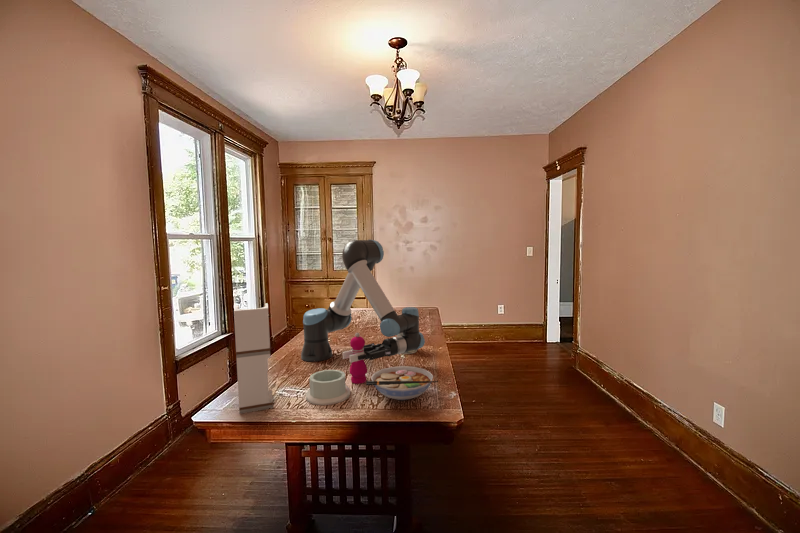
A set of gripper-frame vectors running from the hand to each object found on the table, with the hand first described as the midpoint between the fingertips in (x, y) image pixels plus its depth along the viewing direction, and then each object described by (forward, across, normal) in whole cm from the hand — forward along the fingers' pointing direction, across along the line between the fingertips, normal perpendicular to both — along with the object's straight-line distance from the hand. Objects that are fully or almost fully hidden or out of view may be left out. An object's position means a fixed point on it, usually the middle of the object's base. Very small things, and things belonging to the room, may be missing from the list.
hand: (346, 357), depth 145 cm
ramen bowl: (-10, -23, -11) cm, 28 cm away
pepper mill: (-5, 0, -11) cm, 12 cm away
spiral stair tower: (+34, +5, -11) cm, 36 cm away
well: (+11, -5, -11) cm, 16 cm away
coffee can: (-45, +19, -11) cm, 50 cm away
